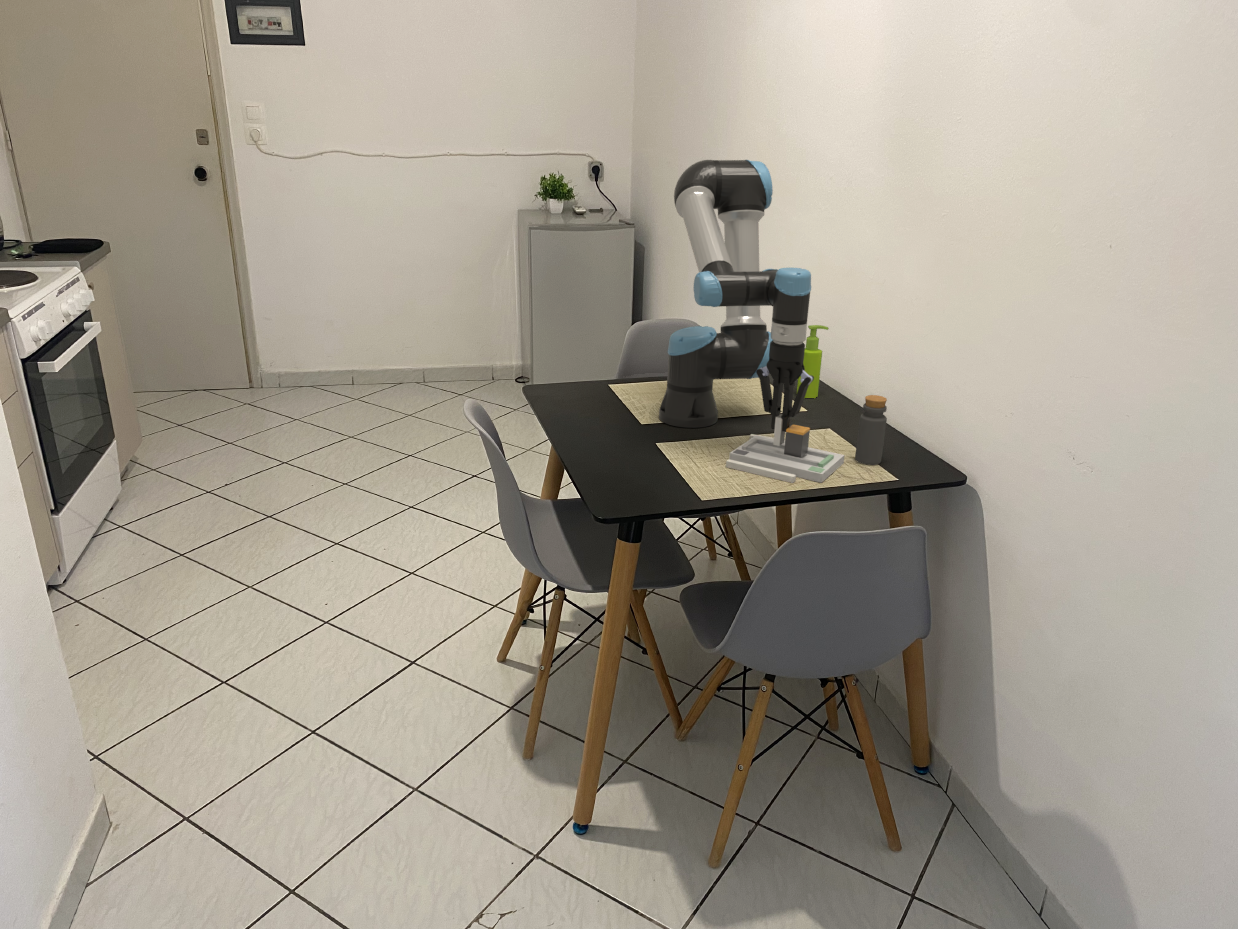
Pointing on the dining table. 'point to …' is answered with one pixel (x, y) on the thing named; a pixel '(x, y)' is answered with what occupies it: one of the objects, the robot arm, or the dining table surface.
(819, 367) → the soap dispenser
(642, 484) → the dining table surface
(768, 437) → the light grey thin bar
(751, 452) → the panel
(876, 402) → the bottle
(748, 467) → the light grey long bar
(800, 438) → the knob
